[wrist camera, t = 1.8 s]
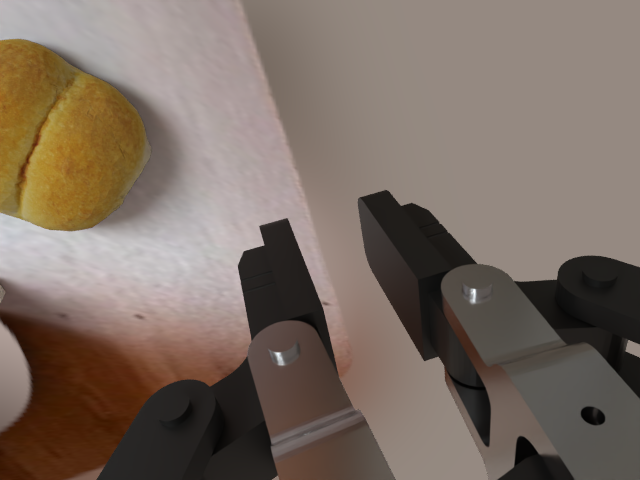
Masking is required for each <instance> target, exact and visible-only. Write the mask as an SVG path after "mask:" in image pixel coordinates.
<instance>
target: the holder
mask: <svg viewBox="0 0 640 480" xmlns="http://www.w3.org/2000/svg"><path fill="white" fill-rule="evenodd" d="M5 293H6V292H5V290H4V289H3V287H2V286H1V285H0V303H1V301H2V299H3V297H4V295H5Z"/></svg>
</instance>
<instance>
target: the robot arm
mask: <svg viewBox="0 0 640 480" xmlns="http://www.w3.org/2000/svg"><path fill="white" fill-rule="evenodd" d="M358 209H359V214H360V222H361V229H362V235H363V241H364V248H365V253H366V256H367V260H368V263H369V266H370V268H371V269H372V272H373V274H374V275H375V277H376V279H377V281H378V282H379V284H380V286H381V287H382V289H383V291H384V293H385V294H386V296H387V298H388V300H389V301H390V303H391V305H392V306H393V308H394V310H395V311H396V313H397V315H398V317H399V319H400V320H401V322H402V324H403V325H404V327H405V329H406V331H407V332H408V334H409V336H410V337H411V339H412V341H413V342H414V344H415V346H416V348H417V349H418V351H419V353H420V355H421V356H422V358H423V360H424V361H426V360H429V359H432V358H435V357H438V356H439V358H440V360H441V361H442V363H443V364H444V369H445V381H446V384H447V386H448V389H449V391H450V393H451V395H452V397H453V399H454V401H455V403H456V405H457V407H458V409H459V411H460V413H461V415H462V417H463V419H464V421H465V423H466V425H467V427H468V429H469V431H470V433H471V436H472V438H473V440H474V442H475V444H476V446H477V448H478V450H479V452H480V454H481V456H482V458H483V461H484V464H485V467H486V470H487V474H488V479H489V480H640V358H639V357H637V356H635V355H632V354H630V353H628V352H625V350H626V346H627V342H628V340H630V341H633V342H635V343H638V344H640V267H637V266H634V265H631V264H627V263H624V262H621V261H618V260H615V259H611V258H607V257H602V256H581V257H577V258H573V259H571V260H568V261H566V262H565V263H564V264H563V265H561V267H560V268H559V271H558V277H557V280H544V281H529V282H518V281H513V280H512V278H511V277H510V276H509V275H508V274H507V273H505V272H504V271H502V270H500V269H498V268H495V267H493V266H489V265H483V264H477V263H476V262H475V261H474V260H473V259H472V257H471V256H470V255H469V254H468V253H467V252H466V251H465V250H464V249H463V248H462V247H461V246H460V244H459V243H458V242H457V241H456V240H455V239H454V238H453V237H452V235H451V234H450V233H448V232H447V230H446V229H445V228H444V227H443V226H442V224H439V221H438V220H437V219H436V218H435V217H434V216H433V215H432V214H431V212H430V211H429V210H427V209H424V208H422V207H420V206H418V205H416V204H413V203H410V204H407V205H403V206H400V204H399V203H398V202H397V201H396V200H395V198H393V196H392V195H391V194H390V192H389V191H387V190H385V191H381V192H378V193H374V194H370V195H367V196H364V197H360V198H359V199H358ZM259 227H260V231H261V234H262V238H263V241H264V246H261V247H257V248H254V249H250V250H247V251H244V252H243V255H242V257H241V259H240V262H239V264H238V270H239V275H240V280H241V286H242V291H243V296H244V302H245V307H246V312H247V318H248V323H249V328H250V333H251V343H250V345H249V348H248V354H247V357H246V359H245V360H244V362H243V363H242V364H241V365H240V366H239V367H238V368H237V369H236V370H235V371H234V372H233V373H231V374H230V375H228V376H227V377H225V378H224V379H222V380H220V381H219V382H217V383H215V384H214V385H212V386H211V387H209V386H208V385H207V384H205V383H204V382H201V381H198V380H181V381H177V382H174V383H171V384H169V385H167V386H165V387H163V388H161V389H160V390H158V391H157V392H156V393H155V394H153V395H152V396H151V397H150V398H149V399H148V400H147V401H146V403H145V404H144V405H143V407H142V408H141V410H140V411H139V413H138V414H137V416H136V418H135V419H134V421H133V422H132V424H131V426H130V427H129V429H128V430H127V432H126V434H125V435H124V437H123V438H122V440H121V442H120V443H119V445H118V446H117V448H116V449H115V451H114V453H113V454H112V456H111V457H110V459H109V461H108V462H107V464H106V465H105V467H104V469H103V470H102V472H101V473H100V475H99V477H98V478H97V480H272V479H273V478H275V477H276V476H277V475H278V477H279V480H396V479H395V477H394V475H393V473H392V471H391V469H390V468H389V465H388V463H387V461H386V459H385V457H384V455H383V453H382V451H381V449H380V447H379V445H378V443H377V441H376V439H375V437H374V435H373V433H372V431H371V429H370V427H369V425H368V423H367V421H366V419H365V417H364V415H363V414H362V412H361V411H360V410H359V409H358V410H355V409H354V407H353V405H352V403H351V401H350V399H349V397H348V395H347V393H346V391H345V389H344V387H343V385H342V383H341V381H340V378H339V375H338V371H337V367H336V362H335V358H334V354H333V349H332V345H331V341H330V336H329V332H328V328H327V323H326V319H325V315H324V310H323V307H322V305H321V302H320V299H319V297H318V294H317V292H316V289H315V287H314V284H313V282H312V279H311V277H310V274H309V272H308V269H307V266H306V264H305V261H304V259H303V256H302V254H301V251H300V249H299V246H298V244H297V241H296V239H295V236H294V233H293V231H292V228H291V226H290V223H289V221H288V219H287V218H286V219H282V220H279V221H275V222H272V223H268V224H265V225H261V226H259Z"/></svg>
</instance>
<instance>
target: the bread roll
mask: <svg viewBox="0 0 640 480" xmlns="http://www.w3.org/2000/svg"><path fill="white" fill-rule="evenodd" d="M151 151H152V149H151V146H150V144H149V142H148V139H147V136H146V132H145V128H144V124H143V121H142V119H141V117H140V115H139V113H138V112H137V110H136V109H135V108H134V106H133V105H132V104H131V103H130V102H129V101H128V100H127V99H126V98H125V97H124V96H123V95H122V94H121V93H120V92H119V91H118V90H117V89H115V88H114V87H113V86H111V85H110V84H109V83H107V82H105V81H103V80H101V79H98V78H96V77H94V76H92V75H89V74H87V73H84V72H83V71H81V70H79V69H77V68H76V67H74V66H72V65H70V64H69V63H67V62H66V61H65V60H64V59H62V58H61V57H60V56H59V55H57V54H55V53H54V52H52V51H51V50H49V49H47V48H46V47H44V46H42V45H39V44H37V43H34V42H31V41H28V40H22V39H9V40H1V41H0V213H3V214H6V215H10V216H13V217H17V218H20V219H22V220H25V221H28V222H30V223H32V224H35V225H37V226H40V227H43V228H46V229H49V230H61V231H77V230H83V229H88V228H92V227H94V226H95V225H97V224H98V223H99V222H101V221H102V220H104V219H105V218H106V217H107V216H109V215H110V214H111V213H112V212H113V211H115V210H117V209H118V208H119V207H120V205H121V204H123V201H124V198H125V196H126V195H127V194H128V192H129V191H130V189H131V188H132V186H133V184H134V182H135V181H136V180H137V178H138V177H139V175H140V174H141V172H142V171H143V169H144V167H145V165H146V163H147V162H148V160H149V158H150V156H151Z"/></svg>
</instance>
